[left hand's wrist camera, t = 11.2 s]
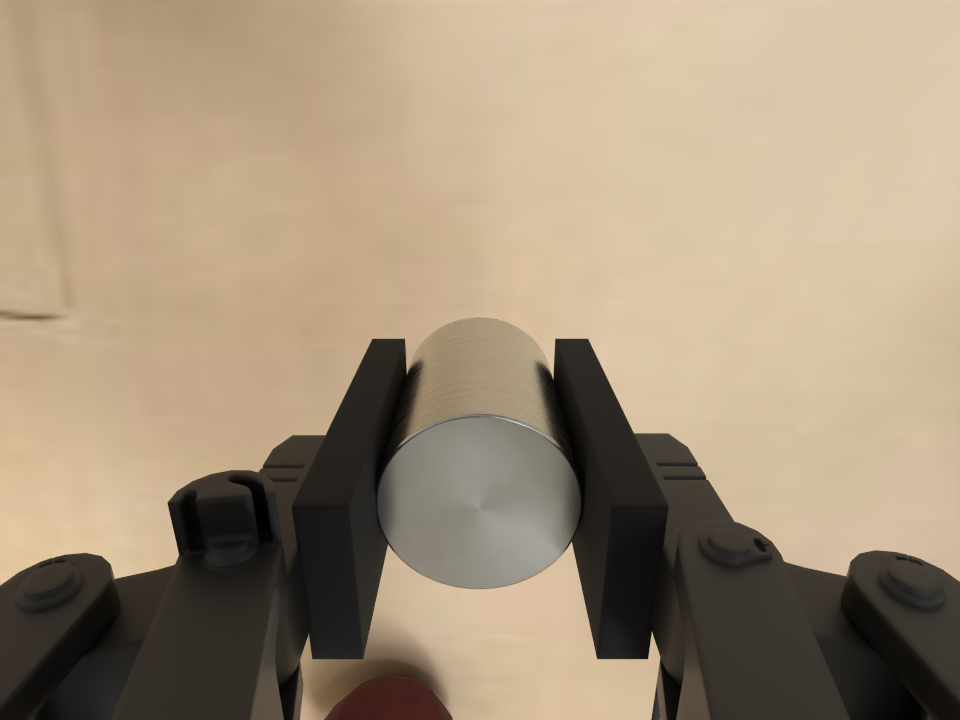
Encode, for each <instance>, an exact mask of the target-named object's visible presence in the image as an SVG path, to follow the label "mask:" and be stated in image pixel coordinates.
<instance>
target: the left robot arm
mask: <svg viewBox="0 0 960 720" xmlns="http://www.w3.org/2000/svg"><path fill="white" fill-rule="evenodd" d="M406 377H407V371H406V350H405V339H372V341H371V343H370V345H369V347H368V349H367V351H366V353H365V355H364V357H363V359H362V362H361V364H360V366H359V368H358V370H357V372H356V374H355V376H354V378H353V380H352V382H351V384H350V386H349V388H348V390H347V393H346V395H345V397H344V399H343V401H342V403H341V405H340V407H339V409H338V411H337V413H336V415H335V417H334V419H333V421H332V423H331V426H330V428H329V430H328V432H327V434H326V435H293V436H291V437H290V438H288V439H287V440H285V441H284V442H283V443H281V444H280V445H278V446H277V447H276V448H274V449H273V450H272V452H271V453H270V455H269V457H268V458H267V460H266V461H265V463H264V465H263V469H260V471H259V473H257V472H254V471H247V470H231V471H226V472H220V473H215V474H211V475H208V476H205V477H203V478H200V479H197V480H195V481H192V482H191V483H189V484H188V485H186V486H185V487H183V488H181V489H180V490H178V491H177V492H176V493H175V494H174V496H173V497H172V498H171V499H170V500H169V502H168V507H169V511H170V516H171V520H172V525H173V529H174V533H175V538H176V542H177V547H178V551H179V557H178V559H177V562H176V564H175V565H173V566H170V567H166V568H162V569H159V570H155V571H150V572H145V573H141V574H136V575H131V576H127V577H122V578H117V579H115V578H114V575H113V571H112V568H111V564H110V563H108V562H107V561H106V560H105V559H104V558H103V557H102V556H98V555H93V554H88V553H81V554H69V555H63V556H59V557H55V558H51V559H48V560H45V561H42V562H39V563H38V564H36V565H33V566H31V567H29V568H27V569H25V570H23V571H21V572H19V573H17V574H16V575H15V576H13V577H12V578H10V579H9V580H8V581H6V582H5V583H3V584H2V585H1V586H0V720H300V713H301V703H302V693H303V679H302V672H301V665H300V658H301V655H302V652H303V649H304V646H305V643H306V640H307V637H308V634H309V637H310V645H311V652H312V659H363V657H364V653H365V648H366V643H367V639H368V634H369V629H370V625H371V620H372V616H373V611H374V606H375V602H376V597H377V592H378V588H379V583H380V578H381V574H382V569H383V564H384V560H385V555H386V551H387V546H388V543H387V541H386V540H385V538H384V536H383V534H382V532H381V529H380V527H379V524H378V520H377V510H376V484H377V480H378V477H379V473H380V470H381V466H382V463H383V459H384V456H385V452H386V448H387V445H388V441H389V438H390V434H391V431H392V427H393V423H394V420H395V416H396V413H397V409H398V406H399V402H400V398H401V395H402V391H403V388H404V384H405V381H406ZM553 382H554V385H555V389H556V392H557V396H558V400H559V403H560V407H561V410H562V414H563V418H564V421H565V425H566V429H567V432H568V436H569V439H570V443H571V447H572V450H573V454H574V458H575V461H576V465H577V468H578V472H579V476H580V479H581V484H582V489H583V503H584V504H583V512H582V517H581V521H580V525H579V527H578V530H577V532H576V534H575V536H574V538H573V540H572V544H573V549H574V553H575V558H576V563H577V567H578V572H579V577H580V581H581V586H582V590H583V595H584V600H585V604H586V609H587V614H588V618H589V623H590V628H591V632H592V637H593V641H594V646H595V651H596V655H597V659H648V655H649V648H650V640H651V633H653V636H654V639H655V642H656V645H657V648H658V651H659V654H660V657H661V658H660V665H659V672H658V679H657V686H656V692H655V699H654V706H653V713H652V720H960V582H959V581H958V580H956V579H955V578H953V577H952V576H951V575H949V574H948V573H946V572H945V571H944V570H942V569H940V568H938V567H936V566H934V565H932V564H929V563H927V562H925V561H923V560H921V559H919V558H916V557H913V556H908V555H906V554H901V553H897V552H888V551H876V550H875V551H870V552H865V553H861V554H859V555H858V556H856V557H855V558H854V559H853V560H852V561H851V562H850V566H849V570H848V573H847V577H846V576H841V575H837V574H832V573H827V572H823V571H818V570H813V569H808V568H804V567H800V566H797V565H793V564H790V563H786V562H784V561H783V558H782V556H781V554H780V553H779V551H778V550H777V548H776V547H775V546H774V544H773V543H772V542H771V541H770V540H769V539H767V538H766V537H765V536H763V535H762V534H761V533H759V532H758V531H756V530H754V529H751V528H749V527H747V526H745V525H742V524H740V523H736V522H734V520H733V519H732V517H731V516H730V514H729V512H728V511H727V509H726V508H725V506H724V504H723V503H722V501H721V500H720V498H719V496H718V495H717V493H716V492H715V490H714V488H713V487H712V485H711V484H710V482H709V480H706V476H705V474H704V473H703V471H702V469H701V468H700V467H698V463H697V461H696V460H695V458H694V457H693V455H692V453H691V452H690V450H689V449H688V447H687V446H685V445H684V444H682V443H681V442H679V441H678V440H677V439H675V438H674V437H672V436H671V435H669V434H634V433H633V431H632V429H631V427H630V425H629V423H628V420H627V418H626V416H625V414H624V412H623V410H622V408H621V406H620V404H619V402H618V400H617V398H616V396H615V394H614V392H613V390H612V387H611V385H610V383H609V381H608V379H607V377H606V375H605V373H604V371H603V369H602V367H601V365H600V363H599V361H598V359H597V357H596V354H595V352H594V350H593V348H592V346H591V344H590V342H589V340H588V339H555V358H554V379H553Z"/></svg>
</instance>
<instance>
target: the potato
mask: <svg viewBox="0 0 960 720" xmlns="http://www.w3.org/2000/svg"><path fill="white" fill-rule="evenodd" d="M324 720H453V719H452V716H451V715H450V714H449V712H448V711H447V709H446V708H445V706H444V705H443V704H442V702H441V701H440V700H439V699H438V698H437V696H436V695H435V694H434V693H433V691H432V690H431V689H429V688H428V687H427V686H426V685H424V684H422V683H420V682H419V681H417V680H415V679H413V678H408V677H403V676H399V675H395V676H382V677H379V678H376V679H372V680H369V681H367V682H365V683H362V684H361V685H360V686H358V687H357V688H356V689H355V690H354V691H352V692H351V693H350V694H349V695H348V696H346V697H345V698H344V699H343V700H341V701H340V702H339V703H338V704H337V705H335V706H334V708H333V709H332V710H331V712H330V713H329V714H328V716H327V717H326V718H325V719H324Z"/></svg>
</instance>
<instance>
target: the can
mask: <svg viewBox="0 0 960 720" xmlns="http://www.w3.org/2000/svg"><path fill="white" fill-rule="evenodd" d="M583 504H584V503H583V489H582V484H581V479H580V476H579V472H578V468H577V465H576V461H575V458H574V454H573V450H572V447H571V443H570V439H569V436H568V432H567V429H566V425H565V421H564V418H563V414H562V410H561V407H560V403H559V400H558V396H557V392H556V389H555V385H554V382H553V378H552V374H551V371H550V367H549V364H548V362H547V359H546V357H545V355H544V353H543V351H542V350H541V348H540V347H539V346H538V344H537V343H536V342H535V341H534V340H533V339H532V338H531V337H530V336H529V335H528V334H526V333H525V332H524V331H522V330H521V329H519V328H517V327H516V326H514V325H511V324H509V323H507V322H504V321H500V320H497V319H491V318H467V319H462V320H458V321H455V322H452V323H449V324H447V325H445V326H443V327H441V328H439V329H438V330H436V331H435V332H434V333H432V334H431V335H430V336H429V337H428V338H426V339H425V340H424V342H423V343H422V344H421V345H420V346H419V348H418V349H417V351H416V353H415V354H414V356H413V358H412V361H411V363H410V366H409V370H408V373H407V377H406V381H405V384H404V388H403V391H402V395H401V398H400V402H399V406H398V409H397V413H396V416H395V420H394V423H393V427H392V431H391V434H390V438H389V441H388V445H387V448H386V452H385V456H384V459H383V463H382V466H381V470H380V473H379V477H378V480H377V484H376V510H377V520H378V524H379V527H380V529H381V532H382V534H383V536H384V538H385V540H386V541H387V543H388V544H389V546H390V547H391V549H392V550H393V551H394V552H395V554H396V555H397V556H398V557H399V558H400V559H401V560H402V561H403V562H405V563H406V564H407V565H408V566H409V567H411V568H412V569H414V570H415V571H417V572H418V573H420V574H421V575H423V576H426V577H428V578H430V579H432V580H434V581H437V582H440V583H442V584H446V585H450V586H454V587H460V588H467V589H491V588H499V587H504V586H509V585H512V584H516V583H519V582H521V581H524V580H526V579H529V578H531V577H533V576H535V575H536V574H538V573H540V572H542V571H543V570H545V569H546V568H547V567H549V566H550V565H552V564H553V563H554V562H555V561H556V560H557V559H558V558H559V557H560V556H561V555H562V554H563V553H564V551H565V550H566V549H567V548H568V546H569V545H570V543H571V542H572V540H573V538H574V536H575V534H576V532H577V530H578V527H579V525H580V521H581V517H582V512H583Z"/></svg>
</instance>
